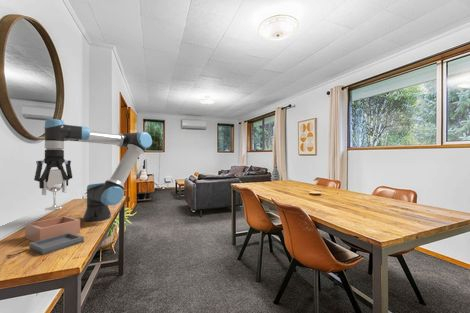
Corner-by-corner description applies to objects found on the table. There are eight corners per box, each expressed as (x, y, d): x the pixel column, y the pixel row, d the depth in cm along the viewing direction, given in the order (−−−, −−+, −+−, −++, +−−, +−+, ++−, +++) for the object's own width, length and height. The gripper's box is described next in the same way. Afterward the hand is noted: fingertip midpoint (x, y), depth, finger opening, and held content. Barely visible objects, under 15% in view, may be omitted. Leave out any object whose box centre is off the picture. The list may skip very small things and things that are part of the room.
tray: (69, 237, 104) (69, 232, 104) (83, 242, 98) (83, 236, 98) (29, 248, 90) (29, 243, 90) (42, 255, 84) (42, 249, 84)
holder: (64, 228, 117) (64, 215, 117) (80, 233, 110) (80, 219, 110) (25, 237, 103) (25, 223, 103) (39, 244, 95) (40, 228, 95)
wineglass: (67, 207, 109) (67, 169, 109) (50, 210, 102) (50, 170, 102) (58, 206, 112) (57, 169, 112) (40, 209, 104) (40, 170, 104)
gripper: (73, 150, 118) (73, 190, 118) (24, 148, 100) (24, 196, 99) (80, 149, 114) (80, 191, 114) (30, 148, 96) (30, 197, 96)
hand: (54, 193), depth 107 cm, fingers closed on wineglass, 8 cm apart
